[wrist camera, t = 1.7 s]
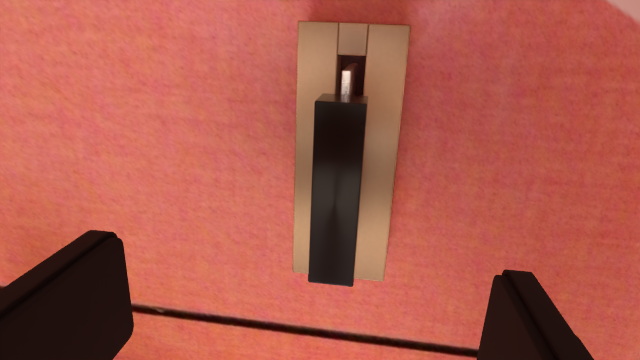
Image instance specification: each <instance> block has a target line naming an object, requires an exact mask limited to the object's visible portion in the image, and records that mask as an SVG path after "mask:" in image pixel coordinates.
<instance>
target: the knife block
mask: <svg viewBox="0 0 640 360" xmlns="http://www.w3.org/2000/svg"><path fill="white" fill-rule="evenodd" d="M410 30H411V26H410V25H397V24H371V23H370V24H369V25H368V23H346V22H340V23H338V22H319V21H298V45H297V92H296V139H295V186H294V233H293V272H296V273H305V274H308V271H309V243H310V215H311V187H312V159H313V131H314V103H315V101H316V100H317V99H318V98H319V97H320V96H321V95H322V94H323V93H327V94H340V81H341V62H342V55H350V56H366V62H365V76H364V90H363V96H368V108H367V121H366V134H365V147H364V159H363V172H362V185H361V198H360V211H359V223H358V236H357V249H356V261H355V272H354V279H363V280H372V281H381V282H383V281H384V275H385V266H386V257H387V247H388V238H389V228H390V219H391V209H392V200H393V190H394V181H395V172H396V162H397V153H398V143H399V134H400V124H401V115H402V105H403V96H404V87H405V77H406V68H407V58H408V49H409V39H410Z"/></svg>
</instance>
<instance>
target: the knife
mask: <svg viewBox="0 0 640 360" xmlns="http://www.w3.org/2000/svg"><path fill="white" fill-rule="evenodd" d="M356 79H357V63H350V64H349V65H348V66H347V67H346V68H345V69H344V70H342V80H341V94H327V93H323V94H322V95H321V96H320V97H319V98H318V99H317V100H316V101H315V103H314V131H313V159H312V187H311V215H310V243H309V271H308V281H309V282H313V283H322V284H331V285H340V286H349V287H352V286H353V282H354V272H355V261H356V249H357V236H358V223H359V211H360V198H361V185H362V172H363V159H364V147H365V134H366V121H367V108H368V96H362V95H355V94H356Z"/></svg>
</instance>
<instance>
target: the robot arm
mask: <svg viewBox="0 0 640 360" xmlns="http://www.w3.org/2000/svg"><path fill="white" fill-rule="evenodd" d="M133 327H134V322H133V315H132V307H131V300H130V292H129V284H128V277H127V269H126V262H125V254H124V246H123V242H122V240H121V239H120V238H118V237H117V235H116V234H115V233H114V232H107V231H97V230H90V231H87V232H86V233H84V234H83V235H81V236H80V237H78V238H77V239H76V240H74V241H73V242H71V243H70V244H68V245H67V246H65V247H64V248H62V249H61V250H59V251H58V252H56V253H55V254H53V255H52V256H50V257H49V258H47V259H46V260H44V261H43V262H41V263H40V264H38V265H37V266H35V267H34V268H32V269H31V270H29V271H28V272H27V273H25V274H24V275H22V276H21V277H19V278H18V279H16V280H15V281H13V282H12V283H10V284H9V285H7V286H6V287H4V288H3V289H1V290H0V360H113V358H114V357H115V356H116V355H117V353H118V352H119V351H120V350H121V349H122V347H123V346H124V345H125V344H126V342H127V341H128V340H129V338H130V337H131V335H132V332H133ZM477 360H594V359H593V358H592V356H591V355H590V353H589V352H588V350H587V349H586V347H585V346H584V345H583V343H582V342H581V340H580V339H579V338H578V337H577V336H576V335H575V334H574V333H573V331H572V330H571V328H570V327H569V325H568V324H567V323H566V321H565V320H564V318H563V317H562V315H561V314H560V312H559V311H558V309H557V308H556V307H555V305H554V304H553V302H552V301H551V299H550V298H549V296H548V295H547V293H546V292H545V290H544V289H543V288H542V286H541V285H540V283H539V282H538V280H537V279H536V277H535V276H534V274H533V273H532V272H525V271H515V270H504V271H503V273H502V275H495V277H494V279H493V283H492V288H491V293H490V298H489V303H488V307H487V312H486V317H485V322H484V327H483V332H482V336H481V341H480V346H479V351H478V356H477Z"/></svg>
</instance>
